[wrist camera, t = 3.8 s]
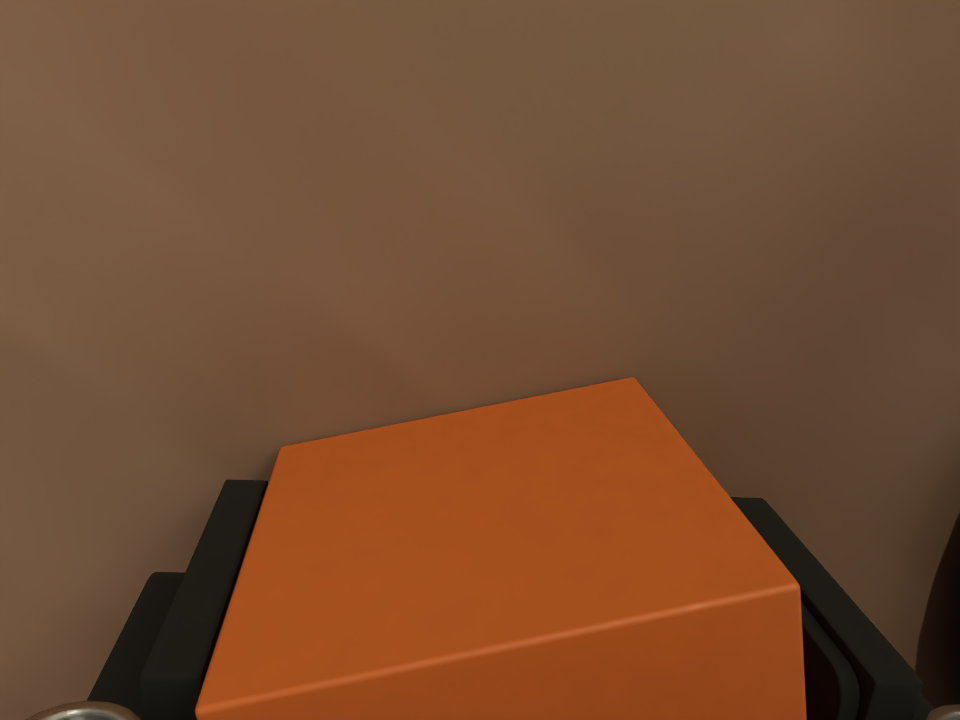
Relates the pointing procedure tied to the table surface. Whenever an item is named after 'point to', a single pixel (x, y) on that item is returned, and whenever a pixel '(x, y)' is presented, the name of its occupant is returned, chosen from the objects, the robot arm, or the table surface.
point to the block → (508, 577)
